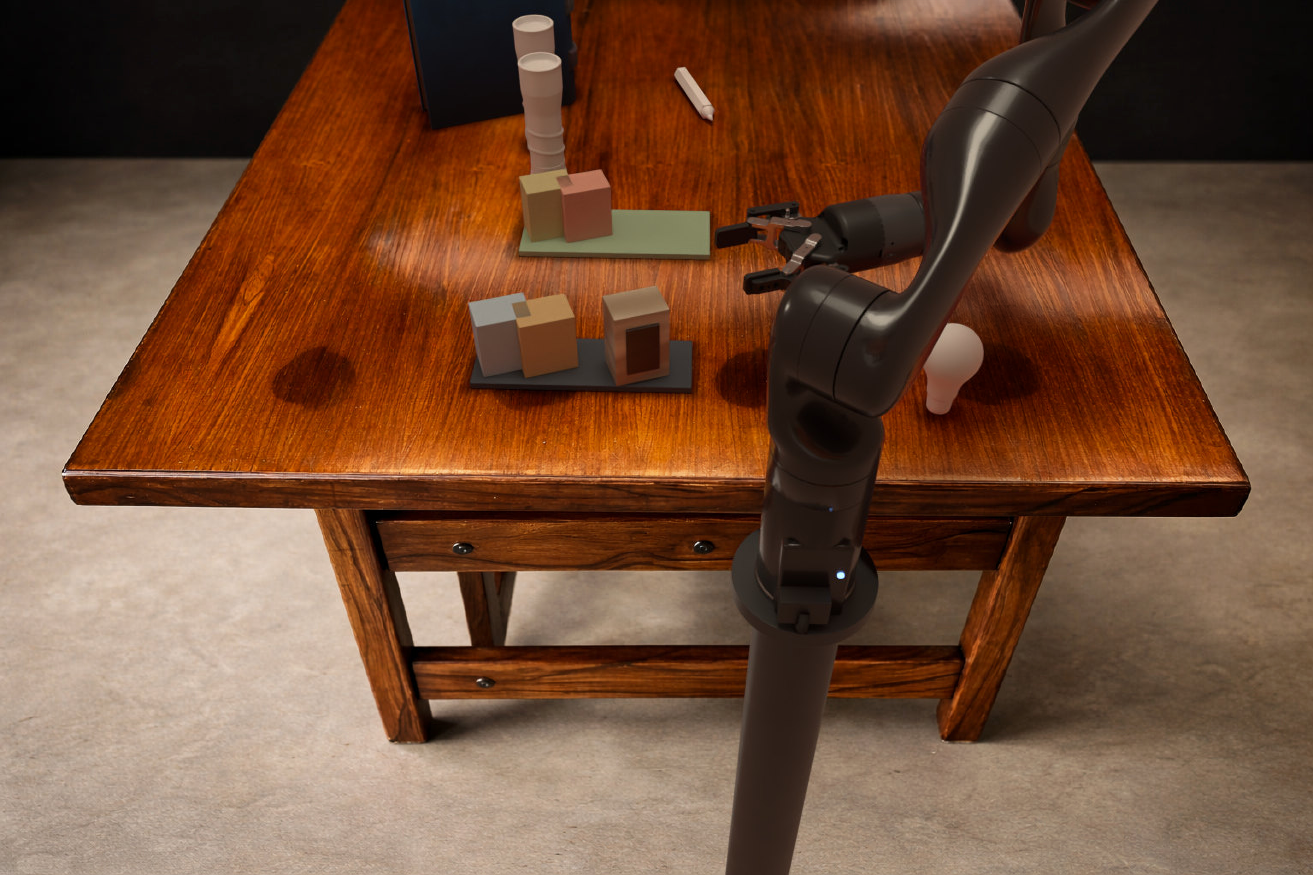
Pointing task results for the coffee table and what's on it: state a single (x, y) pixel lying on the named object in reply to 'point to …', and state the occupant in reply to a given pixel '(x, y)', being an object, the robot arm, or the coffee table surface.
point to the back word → (602, 222)
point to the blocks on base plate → (553, 350)
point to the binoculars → (540, 91)
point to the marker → (694, 93)
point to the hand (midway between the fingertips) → (729, 261)
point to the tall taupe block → (636, 335)
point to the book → (479, 56)
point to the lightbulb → (951, 365)
